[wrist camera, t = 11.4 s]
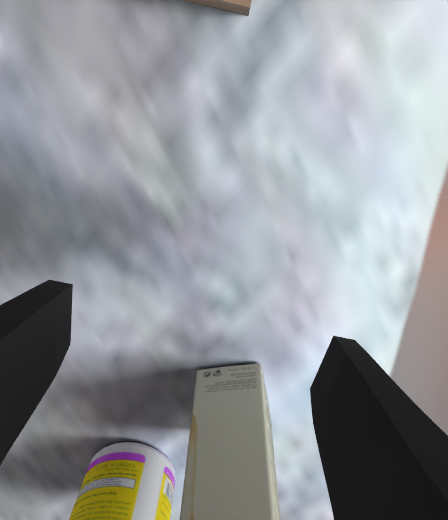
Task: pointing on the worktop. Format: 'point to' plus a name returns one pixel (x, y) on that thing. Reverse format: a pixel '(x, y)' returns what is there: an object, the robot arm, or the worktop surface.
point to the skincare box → (230, 448)
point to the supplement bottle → (126, 485)
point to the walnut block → (227, 5)
